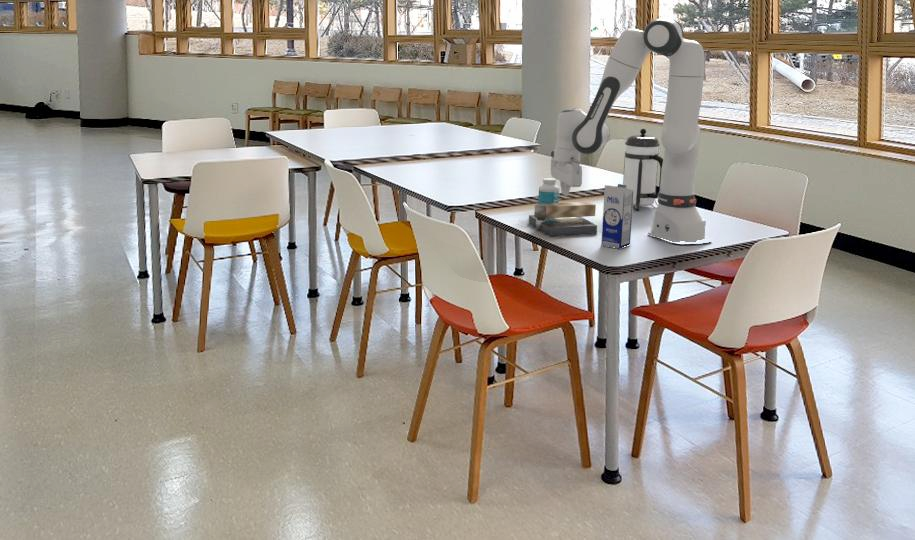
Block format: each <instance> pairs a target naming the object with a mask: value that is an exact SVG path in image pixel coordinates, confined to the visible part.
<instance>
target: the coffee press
mask: <svg viewBox="0 0 915 540" xmlns="http://www.w3.org/2000/svg"><path fill="white" fill-rule="evenodd" d="M639 132H640V134H633V135H630V136H628V137H627V139H626V141H625V142H624V144H625V151H624V164H623V165H624V166H623V176H622V177H623V178H622V179H623V180H622V185H626V188H628V189H631V190H633V191H634V192H633V207H635V211H636V212H640V207H649V206H651V207H652V208H654V209H655V208H656V207H657V206H658V202H656V199H658V193H659V192H660V183H661V169H662V164H663V158H662V157H661V156H659V147H660V146H661V143H660V141H659V139H658V138H657V137H656V136H653V135H649V134H646V133H647V130H646V129H645V128H641V129H640V130H639ZM658 166H659V183H658V191H657V190H656V189H657V182H658V181H657V180H658V179H657V178H658V176H657V175H658ZM654 203H655V205H656V207H655V206H654Z"/></svg>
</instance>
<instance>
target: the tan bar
mask: <svg viewBox="0 0 915 540" xmlns="http://www.w3.org/2000/svg"><path fill="white" fill-rule="evenodd" d="M533 215H534V217H535V218H566V217H582V218H584V217H595V216H596V204H595V203H593V202H591V201H578V202H577V201H575V202H559V203H551V204H537V203H536V204H534V214H533Z"/></svg>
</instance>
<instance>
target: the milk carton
mask: <svg viewBox="0 0 915 540" xmlns="http://www.w3.org/2000/svg"><path fill="white" fill-rule="evenodd" d="M603 192H604V195H603V207H602V208H603V209H602V210H603V211H602V227H601V230H602V231H601V245H600V246H601V247H605V246H609V247H608V248H610V247H615V248H622V247H624V246H627V245H629V244H630V245H631V238H632V237H631V236H632V235H631V234H632V233H631V232H632V221H633V220H632V219H633V218H632V217H633V208H634V206H633V192H634V191H633V190H631V189H628V188H626V185H624V184H623V183H622V184H621V183H617V186H616V185H615V186H614V185H606V184H605V185H604V191H603ZM602 245H603V246H602ZM615 248H614V249H615ZM622 249H623V248H622Z"/></svg>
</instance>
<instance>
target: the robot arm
mask: <svg viewBox="0 0 915 540" xmlns="http://www.w3.org/2000/svg"><path fill="white" fill-rule="evenodd" d="M651 52H653V53H655V54H659V55H661V56H664V57H668V59H669V70H668V79H667V80H668V82H667V93H666V103H665V109H664V114H663V121H662V122H663V123H662V128H661V136H660V137H661V138H660V139H661V144H662V146H663V148H664V152H663V158H662V159H663V164H662V169H661V183H660V192H659V193H658V192H657V193H658V198H657V205H658V206H657V205H656V207H655V208H656V209H655V208H654V209H655V210H653V214H652V222H651V226H650V227H651V228H650V231H648V232H647V235H648V234H649V235H652V236H655V237H659V238H663V239H666V240H669V241H672V242H680V241H685V242H696V241H697V240H702V239H705V235H706V220H705V219H703V218H702V217H701V215H700V213H699V211H698V209H697V207H696V205H697V204H696V203H697V199H696V196H695V191H694V190H695V179H696V178H695V177H696V169H697V162H698V156H699V155H698V154H699V148H700V139H701V128H700V125H699V118H700V112H701V111H700V110H701V105H702V100H703V86H704V76H705V54H704V48H703V46H702V44H701V43H699V42H697V41H696V40H693V39H692V40H690V39H686V38H685V37H684V30H683V26H682V25H681V24H680V22H679V21H677V20H675V19H672V18H670V17H659V18H656V19H653V20H651V21H650V22H649V23H648V24H647V25H646V26H645V28H644V30H640V29H638V28H627V29H625V30H623V31H622V33H621V34H620V35H619V37H618V39H617V41H616V43H615V44H614V46H613V48H612V49H611V52H610V54H609V57H608V59H607V62H606V64H605V67H604V70H603V73H602V77H601V79H600V80H601V81H600V84H599V86H598V90H597V92H596V95H595V97H594V98H593V101H592V104H591V105H590V108H589V110H588V111H587V113H586V112H584V111H583V110H582V109H581V108H578V107H577V108H568V109H564V110H562V111H560V112H559V114H558V116H557V117H558V118H557V123H556V132H555V134H556V143H555V148H554V149H553V150H551V151H550V153H549V154H550V155H549V156H550V158H551V159H550V175H551V178H554V179H556V181H559V185H560V194H562V196H565V197H566V196H567V197H568V196H569V195H570V190H571V188H580V187H581V186H582V184H583V168H582V165H581V164H580V162H581V153H582V154H585V155H590V154H594V153H596V151H598V150H599V149H600V148H602V147H604V145H606V144H607V142H609V140H610V137H611V130H610V127H609V126H608V124H607V123H605V122H606V120H607V118H608V116H609V114H610V112H611V109H612V107H613V106H614V104H615V102H616V101H617V99H618V98H620V96H621V95H622V94H623V93H625V92H626V91H627V90H628V89H629V88H630V87H631V86H632V85H633V83H634V82H635V80H636V78H637V76H638V75H639V72H640V71H641V68H642V66H643V64H644V61H645V59H646V57H647V56H648V55H649V54H650V53H651ZM649 235H648V236H649ZM652 236H651V237H652Z"/></svg>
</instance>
